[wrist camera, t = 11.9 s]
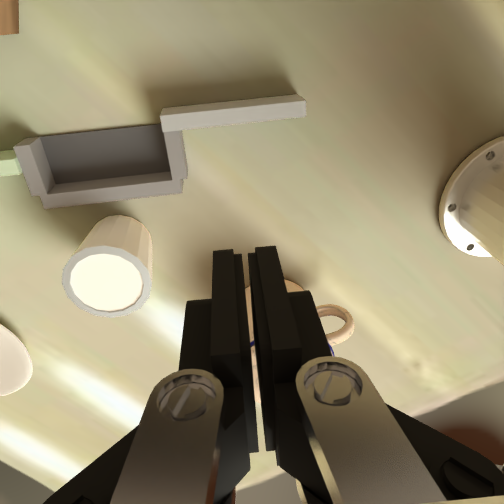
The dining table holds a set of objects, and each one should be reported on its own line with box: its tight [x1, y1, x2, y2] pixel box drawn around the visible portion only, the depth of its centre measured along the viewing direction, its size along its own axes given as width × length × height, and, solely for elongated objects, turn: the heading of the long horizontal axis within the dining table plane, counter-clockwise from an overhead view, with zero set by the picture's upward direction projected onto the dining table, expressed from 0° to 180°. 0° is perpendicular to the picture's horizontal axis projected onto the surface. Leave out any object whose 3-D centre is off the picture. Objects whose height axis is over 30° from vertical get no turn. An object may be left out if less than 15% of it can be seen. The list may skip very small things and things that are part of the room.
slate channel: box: [0, 94, 306, 177], centre depth 28 cm, size 29×18×4 cm, turn 94°
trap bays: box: [13, 124, 188, 209], centre depth 29 cm, size 12×25×2 cm, turn 4°
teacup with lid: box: [245, 280, 355, 403], centre depth 39 cm, size 12×9×12 cm
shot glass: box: [62, 215, 152, 318], centre depth 35 cm, size 7×7×7 cm
